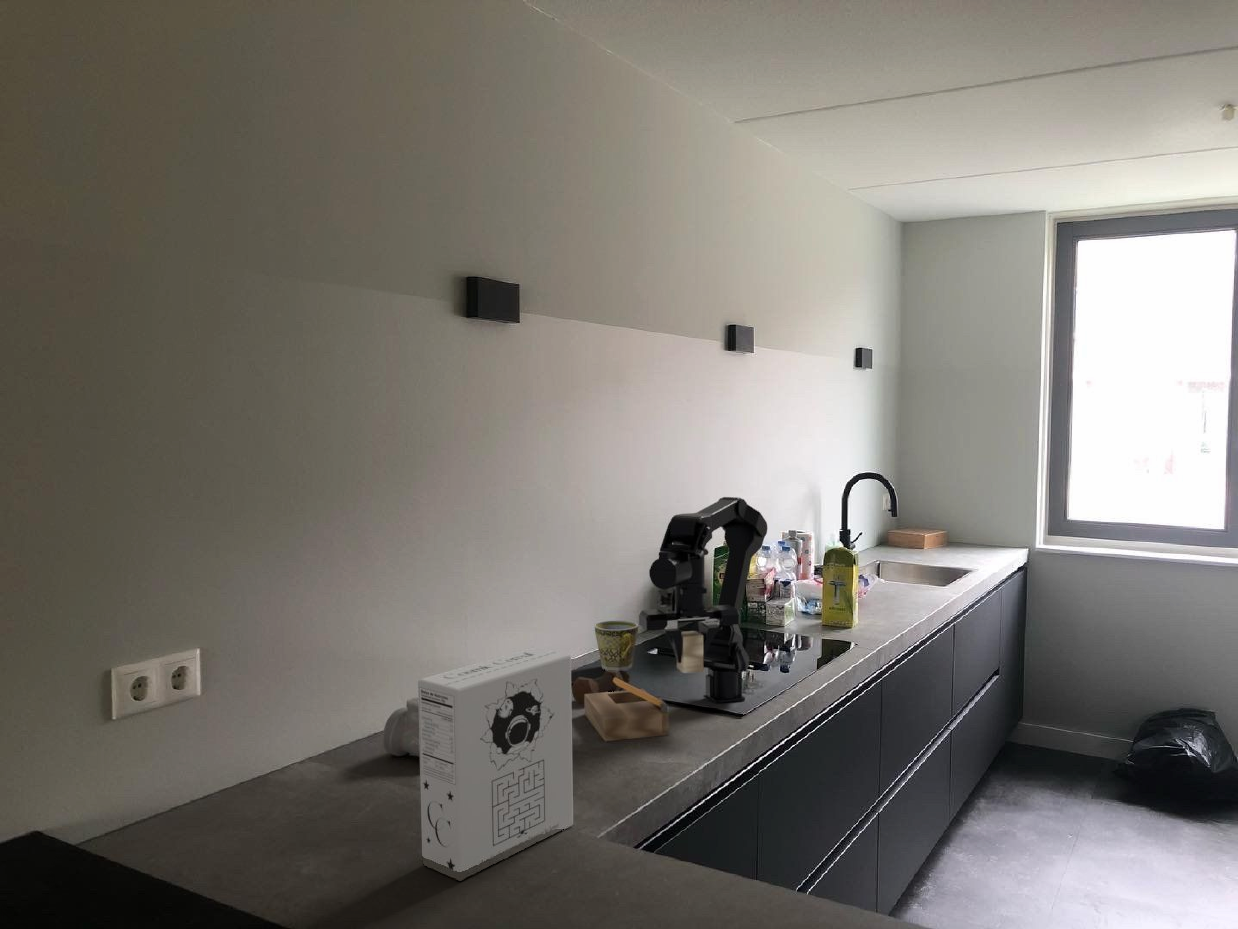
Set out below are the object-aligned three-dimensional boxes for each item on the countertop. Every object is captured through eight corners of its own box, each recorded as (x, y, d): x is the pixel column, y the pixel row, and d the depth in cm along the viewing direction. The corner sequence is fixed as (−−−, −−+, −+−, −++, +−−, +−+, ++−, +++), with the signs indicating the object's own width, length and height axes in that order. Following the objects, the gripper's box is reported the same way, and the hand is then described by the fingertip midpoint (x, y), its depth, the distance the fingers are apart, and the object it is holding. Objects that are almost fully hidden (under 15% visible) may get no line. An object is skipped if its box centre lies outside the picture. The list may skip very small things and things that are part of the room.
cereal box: (536, 812, 146) (533, 646, 144) (574, 825, 141) (571, 654, 139) (421, 866, 129) (416, 679, 128) (459, 883, 124) (455, 689, 123)
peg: (696, 666, 190) (696, 630, 190) (703, 671, 187) (703, 635, 186) (676, 668, 189) (676, 632, 189) (683, 673, 186) (683, 636, 185)
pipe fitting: (376, 757, 168) (384, 698, 167) (407, 746, 175) (414, 690, 174) (431, 777, 162) (439, 716, 162) (461, 765, 169) (468, 707, 169)
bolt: (627, 695, 210) (584, 711, 198) (610, 680, 213) (567, 695, 201) (638, 673, 209) (596, 688, 196) (622, 659, 211) (578, 672, 199)
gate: (659, 705, 184) (662, 699, 184) (664, 710, 181) (667, 704, 181) (612, 681, 181) (615, 676, 181) (616, 686, 178) (619, 680, 178)
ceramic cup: (588, 665, 227) (587, 623, 226) (627, 660, 231) (626, 618, 231) (611, 679, 215) (611, 634, 215) (652, 674, 219) (651, 629, 219)
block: (643, 708, 195) (643, 682, 194) (668, 734, 179) (668, 705, 179) (584, 714, 191) (584, 687, 191) (605, 741, 176) (604, 711, 176)
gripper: (720, 571, 197) (720, 648, 198) (630, 576, 192) (631, 655, 193) (741, 581, 186) (741, 662, 187) (647, 586, 182) (647, 669, 182)
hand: (689, 661), depth 188 cm, fingers closed on peg, 4 cm apart
